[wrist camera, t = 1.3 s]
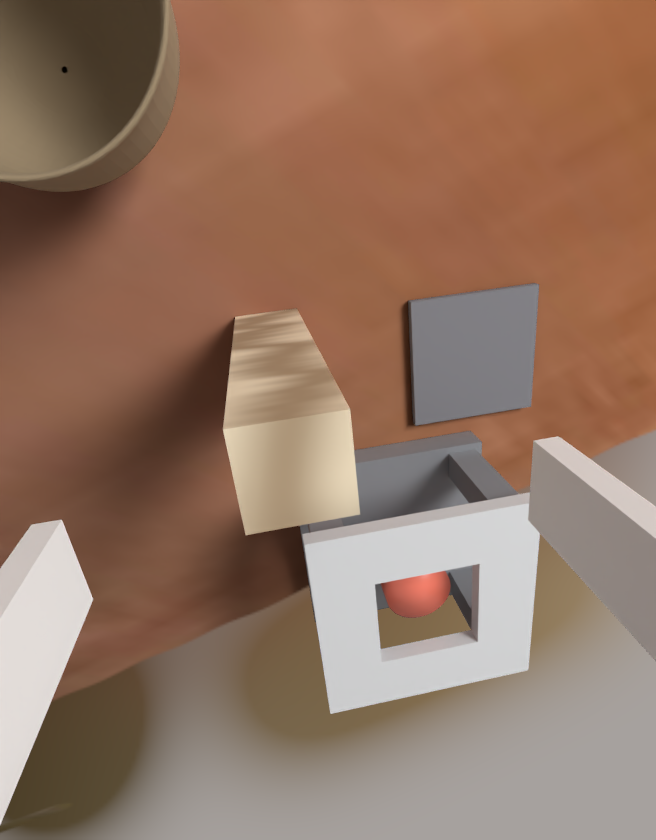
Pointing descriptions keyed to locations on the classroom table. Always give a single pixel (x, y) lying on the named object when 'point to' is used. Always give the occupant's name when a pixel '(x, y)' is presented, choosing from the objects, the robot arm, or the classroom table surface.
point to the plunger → (417, 594)
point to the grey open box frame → (423, 570)
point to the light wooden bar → (286, 427)
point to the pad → (472, 352)
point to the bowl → (83, 88)
